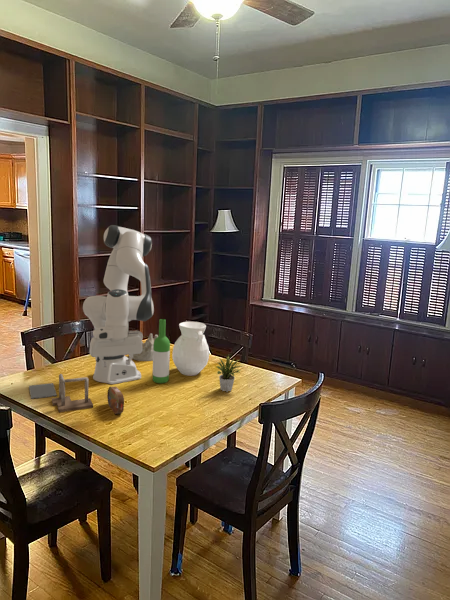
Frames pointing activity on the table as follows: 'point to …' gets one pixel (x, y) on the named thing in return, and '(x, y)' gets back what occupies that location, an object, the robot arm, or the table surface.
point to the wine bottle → (161, 355)
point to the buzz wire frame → (65, 402)
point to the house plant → (227, 374)
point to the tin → (115, 400)
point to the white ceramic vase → (191, 348)
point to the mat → (42, 390)
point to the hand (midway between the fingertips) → (116, 365)
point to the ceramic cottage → (146, 350)
